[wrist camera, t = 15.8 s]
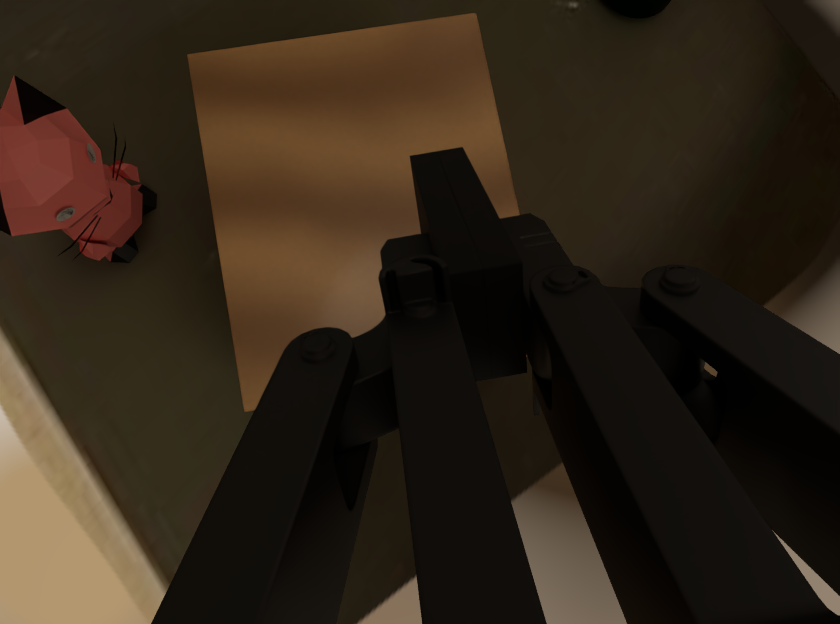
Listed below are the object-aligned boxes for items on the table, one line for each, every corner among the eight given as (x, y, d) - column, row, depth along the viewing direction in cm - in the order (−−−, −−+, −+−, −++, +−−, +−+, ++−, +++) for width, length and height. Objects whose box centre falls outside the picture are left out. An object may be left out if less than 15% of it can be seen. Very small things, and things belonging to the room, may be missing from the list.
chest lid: (192, 62, 28) (186, 53, 28) (473, 21, 30) (476, 11, 29) (248, 411, 27) (243, 412, 26) (545, 353, 28) (549, 352, 27)
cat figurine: (148, 291, 36) (32, 247, 24) (38, 255, 36) (-134, 192, 24) (190, 184, 37) (99, 89, 25) (83, 148, 37) (-61, 35, 25)
